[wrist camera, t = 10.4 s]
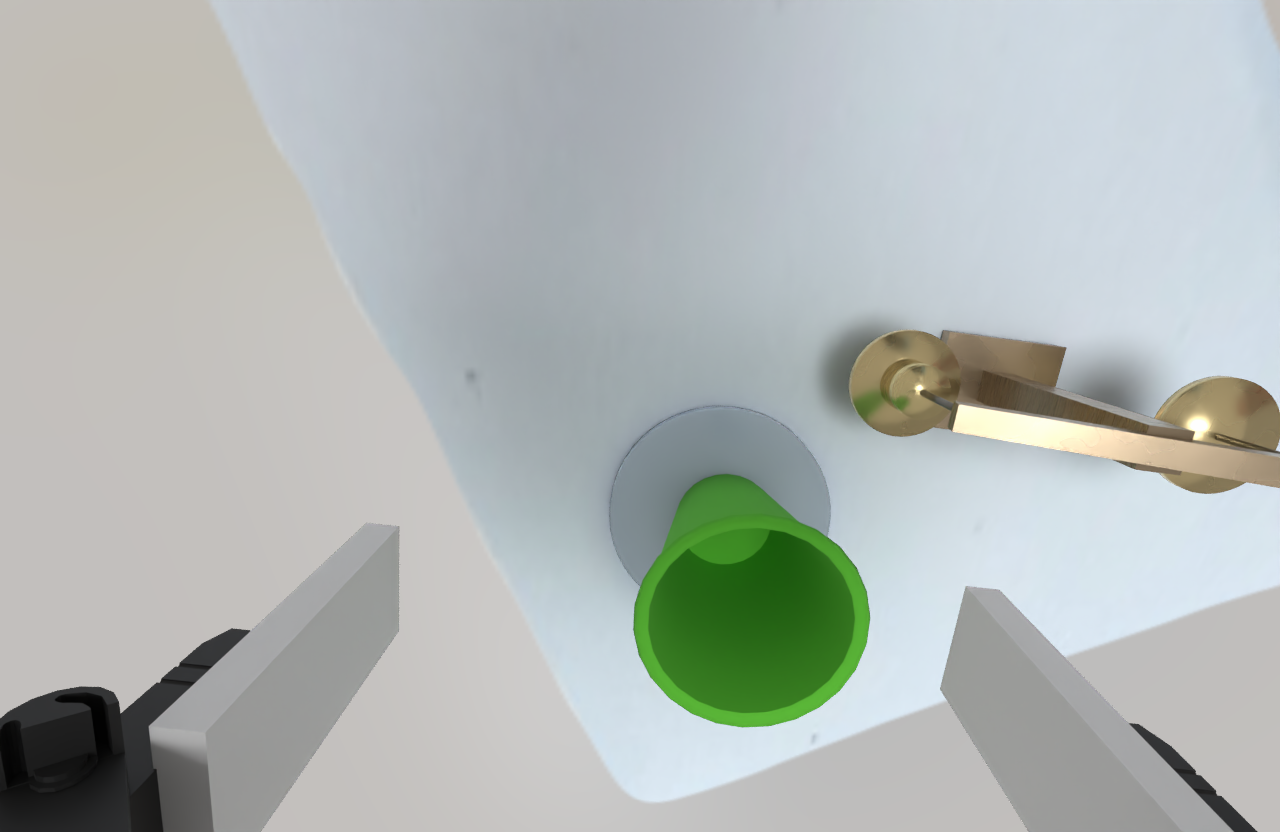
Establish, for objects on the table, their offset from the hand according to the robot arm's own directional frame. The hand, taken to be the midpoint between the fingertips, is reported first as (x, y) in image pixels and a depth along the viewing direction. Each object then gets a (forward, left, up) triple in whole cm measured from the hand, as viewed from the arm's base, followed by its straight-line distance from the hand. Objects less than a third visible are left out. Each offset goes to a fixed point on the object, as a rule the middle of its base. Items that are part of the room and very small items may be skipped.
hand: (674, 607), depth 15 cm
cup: (+5, +4, -20) cm, 21 cm away
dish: (+5, +4, -21) cm, 22 cm away
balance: (-4, +17, -21) cm, 27 cm away
